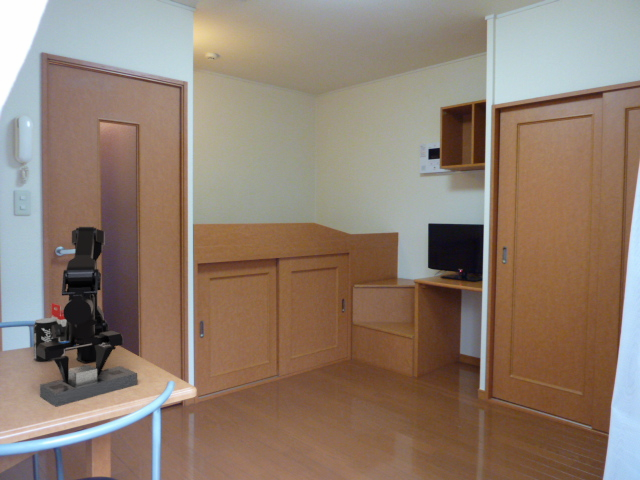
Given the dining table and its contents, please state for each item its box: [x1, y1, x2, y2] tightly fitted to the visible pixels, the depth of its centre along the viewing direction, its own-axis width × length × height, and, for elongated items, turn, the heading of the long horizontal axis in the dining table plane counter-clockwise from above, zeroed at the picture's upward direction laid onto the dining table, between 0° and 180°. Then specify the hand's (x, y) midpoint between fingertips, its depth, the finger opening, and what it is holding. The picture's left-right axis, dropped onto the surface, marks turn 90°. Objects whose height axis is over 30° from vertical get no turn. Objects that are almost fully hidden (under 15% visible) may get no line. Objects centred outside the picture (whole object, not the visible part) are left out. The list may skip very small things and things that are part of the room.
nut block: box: [68, 364, 97, 388], centre depth 120 cm, size 5×5×6 cm
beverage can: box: [32, 317, 59, 363], centre depth 147 cm, size 7×7×12 cm
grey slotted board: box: [39, 365, 138, 407], centre depth 121 cm, size 20×9×3 cm, turn 140°
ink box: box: [51, 302, 75, 346], centre depth 160 cm, size 8×5×15 cm, turn 47°
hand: (82, 378), depth 120 cm, fingers open, 7 cm apart
